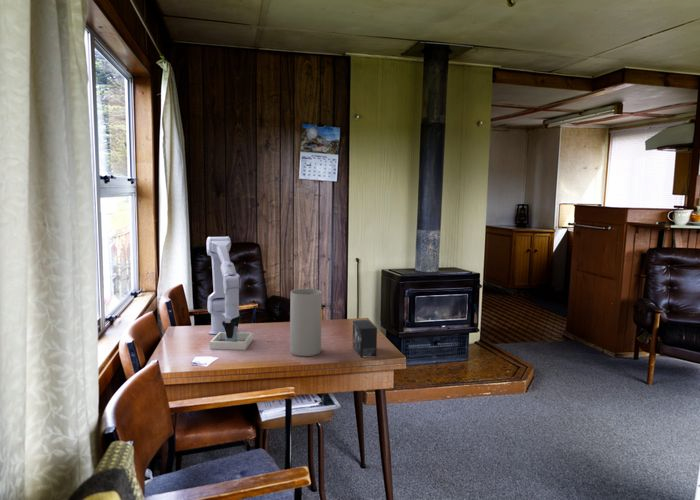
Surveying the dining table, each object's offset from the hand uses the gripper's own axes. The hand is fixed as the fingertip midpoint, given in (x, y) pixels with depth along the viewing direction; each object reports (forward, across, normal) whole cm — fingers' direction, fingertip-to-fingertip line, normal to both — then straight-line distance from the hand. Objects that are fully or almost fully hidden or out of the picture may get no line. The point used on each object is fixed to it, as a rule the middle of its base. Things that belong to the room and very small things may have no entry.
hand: (231, 335), depth 210 cm
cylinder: (+3, 0, 0) cm, 4 cm away
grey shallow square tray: (+4, 0, 0) cm, 4 cm away
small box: (+4, +6, +56) cm, 57 cm away
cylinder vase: (+4, +8, +32) cm, 33 cm away
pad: (+4, 0, 0) cm, 4 cm away
